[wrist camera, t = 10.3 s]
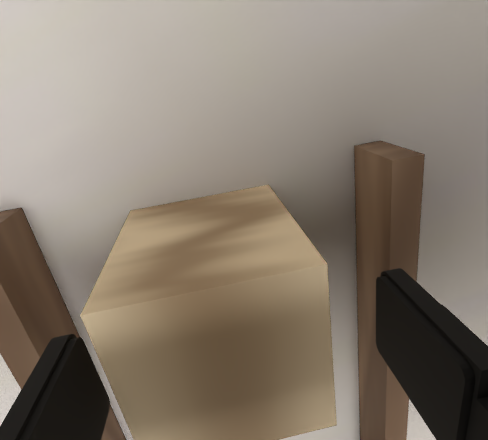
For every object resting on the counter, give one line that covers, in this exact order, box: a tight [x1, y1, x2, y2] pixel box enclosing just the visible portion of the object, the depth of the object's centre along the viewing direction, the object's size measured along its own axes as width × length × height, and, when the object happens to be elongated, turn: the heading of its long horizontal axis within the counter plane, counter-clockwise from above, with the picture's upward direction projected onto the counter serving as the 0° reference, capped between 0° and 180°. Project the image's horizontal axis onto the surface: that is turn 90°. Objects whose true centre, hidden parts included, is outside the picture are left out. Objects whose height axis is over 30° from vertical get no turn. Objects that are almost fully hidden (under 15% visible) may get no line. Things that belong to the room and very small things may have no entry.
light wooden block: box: [80, 185, 337, 440], centre depth 12 cm, size 6×6×7 cm
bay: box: [0, 141, 425, 440], centre depth 17 cm, size 16×21×3 cm
